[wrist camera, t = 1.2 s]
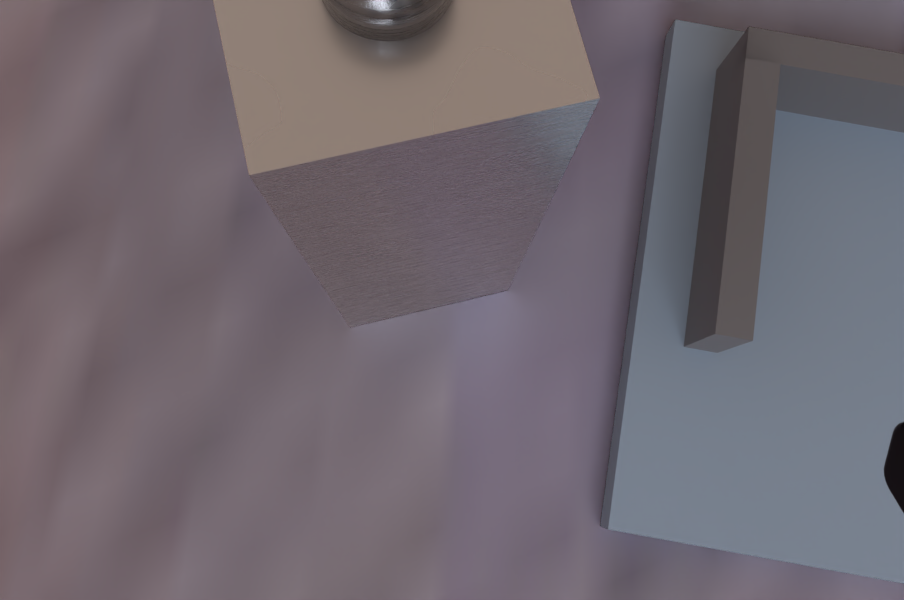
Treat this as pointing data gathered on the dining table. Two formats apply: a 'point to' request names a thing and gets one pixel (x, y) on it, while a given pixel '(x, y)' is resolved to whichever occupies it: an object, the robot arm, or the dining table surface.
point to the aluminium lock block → (407, 137)
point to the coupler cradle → (767, 305)
